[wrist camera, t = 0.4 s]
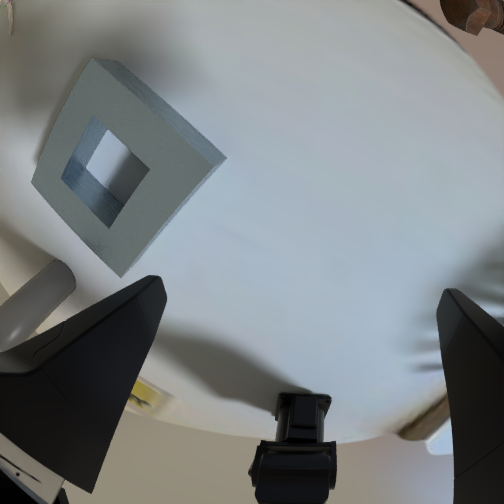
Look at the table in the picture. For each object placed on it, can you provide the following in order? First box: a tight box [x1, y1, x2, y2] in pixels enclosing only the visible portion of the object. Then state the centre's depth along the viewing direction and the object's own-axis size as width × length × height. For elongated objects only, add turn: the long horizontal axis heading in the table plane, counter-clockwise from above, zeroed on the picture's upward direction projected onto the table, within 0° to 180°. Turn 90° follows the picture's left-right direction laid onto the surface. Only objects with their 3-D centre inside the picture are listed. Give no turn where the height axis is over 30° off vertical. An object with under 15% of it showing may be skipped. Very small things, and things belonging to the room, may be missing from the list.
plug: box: [0, 260, 76, 352], centre depth 24 cm, size 4×4×15 cm
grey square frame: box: [31, 58, 227, 278], centre depth 21 cm, size 13×13×4 cm
